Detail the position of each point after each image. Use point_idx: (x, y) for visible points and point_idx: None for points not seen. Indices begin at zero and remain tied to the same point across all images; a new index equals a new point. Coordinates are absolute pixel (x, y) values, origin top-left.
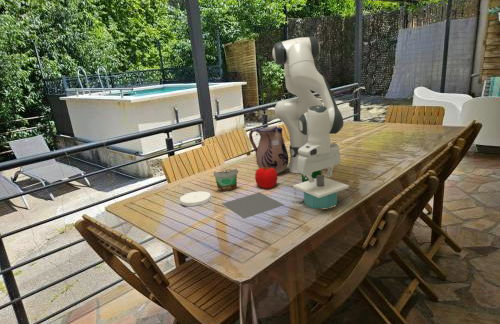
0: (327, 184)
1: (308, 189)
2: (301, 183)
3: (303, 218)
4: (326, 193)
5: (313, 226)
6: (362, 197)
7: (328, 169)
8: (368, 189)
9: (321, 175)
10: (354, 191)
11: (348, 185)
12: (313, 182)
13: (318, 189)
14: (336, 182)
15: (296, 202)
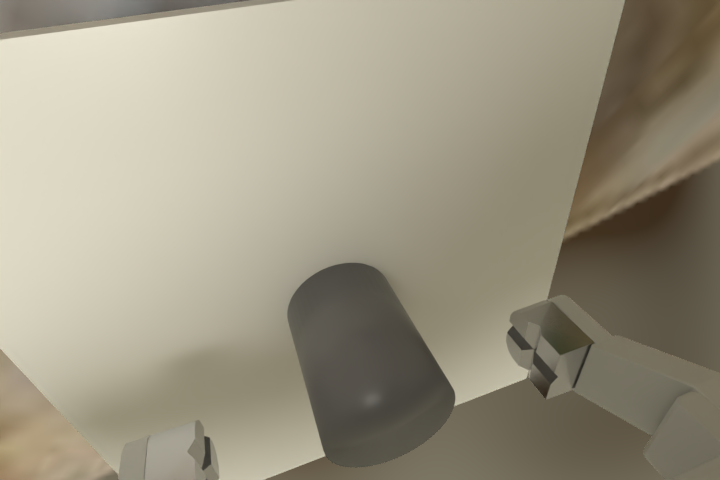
0: (422, 308)
1: (105, 386)
2: (67, 82)
3: (3, 381)
4: (261, 476)
5: (51, 469)
6: (568, 223)
7: (650, 376)
8: (704, 128)
9: (432, 401)
10: (638, 106)
11: (524, 378)
12: (328, 165)
13: (238, 406)
14: (529, 289)
15: (17, 20)
